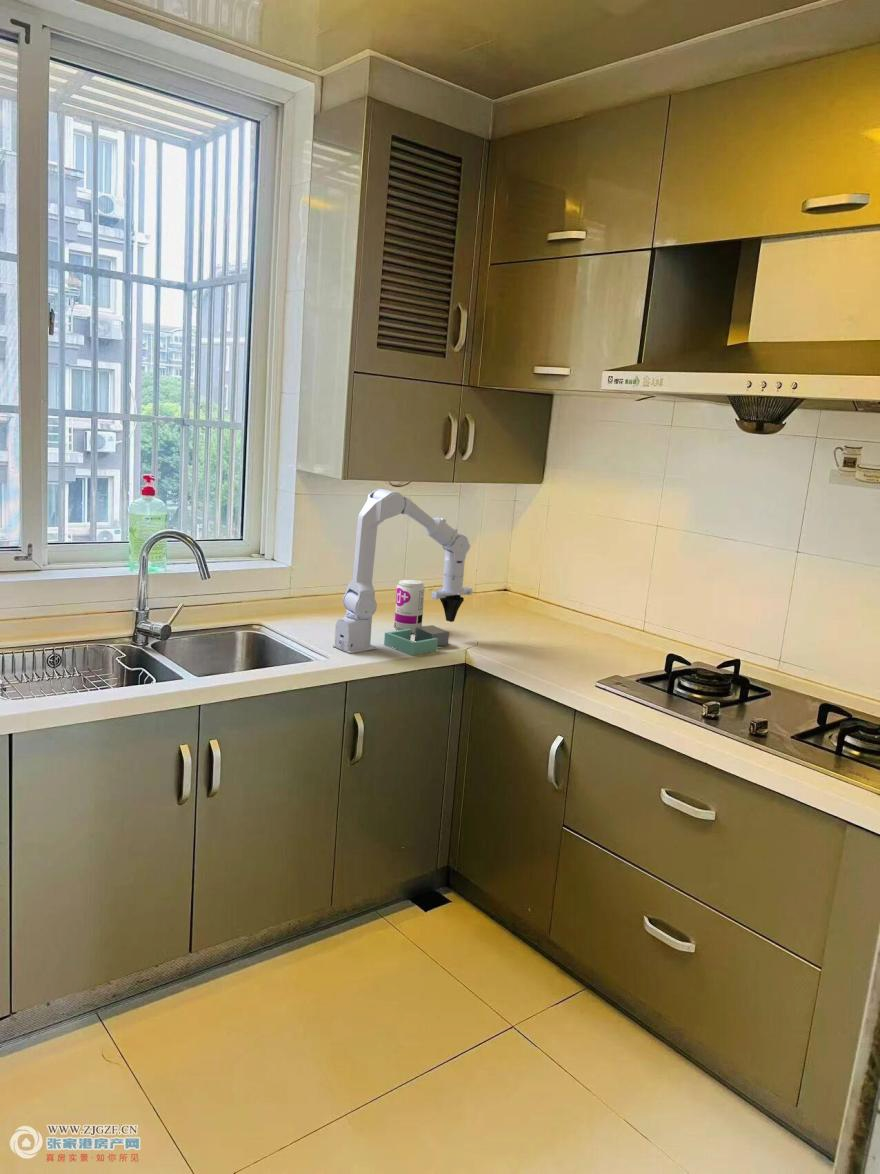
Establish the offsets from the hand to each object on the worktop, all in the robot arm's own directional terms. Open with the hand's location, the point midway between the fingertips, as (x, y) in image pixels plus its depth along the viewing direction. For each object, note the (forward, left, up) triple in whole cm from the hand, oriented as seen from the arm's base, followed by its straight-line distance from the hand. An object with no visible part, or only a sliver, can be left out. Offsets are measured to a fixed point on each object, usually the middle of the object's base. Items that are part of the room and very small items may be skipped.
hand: (450, 620), depth 254 cm
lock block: (-7, 0, -6) cm, 9 cm away
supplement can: (-3, +15, -6) cm, 16 cm away
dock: (-15, 0, -6) cm, 16 cm away
